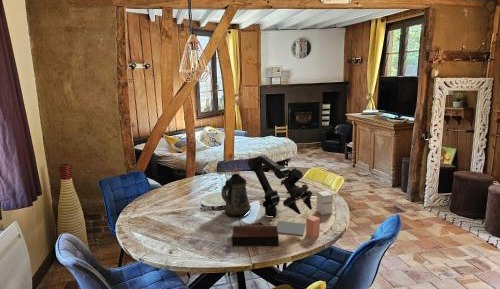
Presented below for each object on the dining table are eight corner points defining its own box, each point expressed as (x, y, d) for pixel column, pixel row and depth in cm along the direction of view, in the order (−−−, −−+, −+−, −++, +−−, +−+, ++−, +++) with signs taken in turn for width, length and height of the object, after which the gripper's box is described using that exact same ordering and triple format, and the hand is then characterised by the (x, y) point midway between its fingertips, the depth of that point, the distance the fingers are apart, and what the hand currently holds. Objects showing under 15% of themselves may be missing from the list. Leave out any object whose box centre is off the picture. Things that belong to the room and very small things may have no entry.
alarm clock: (276, 235, 182) (276, 225, 181) (278, 246, 170) (278, 236, 169) (233, 236, 182) (233, 226, 181) (232, 247, 171) (231, 236, 169)
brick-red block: (305, 235, 181) (306, 217, 179) (312, 232, 184) (312, 215, 182) (313, 238, 178) (313, 221, 175) (319, 235, 181) (319, 218, 179)
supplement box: (321, 215, 206) (322, 195, 203) (316, 210, 213) (316, 191, 210) (332, 213, 208) (333, 194, 205) (326, 209, 215) (327, 190, 212)
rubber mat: (273, 232, 184) (273, 231, 184) (277, 221, 197) (277, 220, 197) (302, 235, 180) (302, 234, 180) (305, 224, 194) (305, 223, 193)
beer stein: (253, 208, 217) (253, 171, 211) (245, 221, 198) (244, 181, 193) (229, 206, 221) (228, 169, 216) (219, 218, 203) (217, 179, 197)
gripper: (286, 183, 177) (302, 209, 171) (310, 176, 189) (325, 200, 183) (276, 194, 185) (290, 219, 179) (299, 186, 196) (313, 209, 190)
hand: (305, 211), depth 182 cm, fingers open, 9 cm apart
